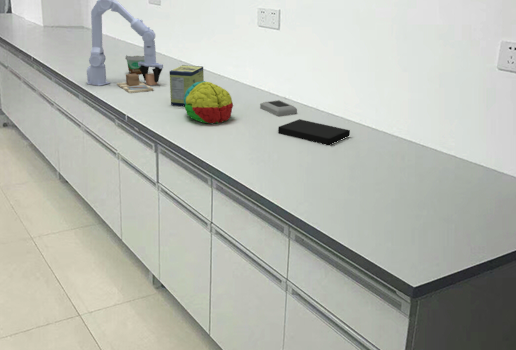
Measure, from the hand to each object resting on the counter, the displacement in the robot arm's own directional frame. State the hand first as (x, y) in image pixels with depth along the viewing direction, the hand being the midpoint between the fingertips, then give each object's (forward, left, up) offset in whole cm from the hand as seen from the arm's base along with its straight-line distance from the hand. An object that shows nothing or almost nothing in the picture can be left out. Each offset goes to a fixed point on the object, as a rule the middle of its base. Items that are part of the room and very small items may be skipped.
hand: (151, 81), depth 308 cm
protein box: (+39, -18, -2) cm, 43 cm away
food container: (-24, +15, -2) cm, 28 cm away
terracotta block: (0, 0, -1) cm, 1 cm away
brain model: (+62, -33, -2) cm, 70 cm away
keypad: (+81, -7, -2) cm, 81 cm away
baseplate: (-1, -11, -2) cm, 11 cm away
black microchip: (+110, -29, -2) cm, 114 cm away
